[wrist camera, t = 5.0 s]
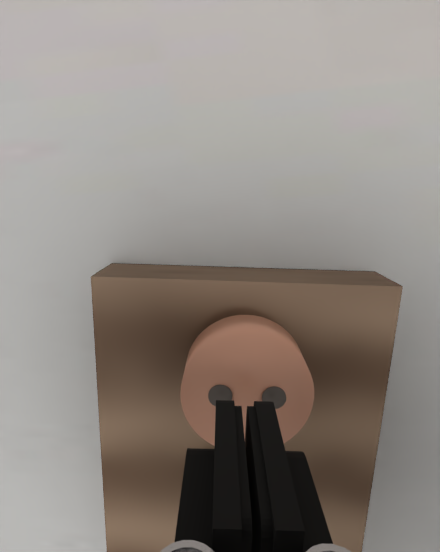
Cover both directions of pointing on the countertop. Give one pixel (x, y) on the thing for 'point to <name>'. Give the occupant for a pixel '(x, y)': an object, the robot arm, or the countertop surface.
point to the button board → (171, 364)
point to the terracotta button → (246, 374)
